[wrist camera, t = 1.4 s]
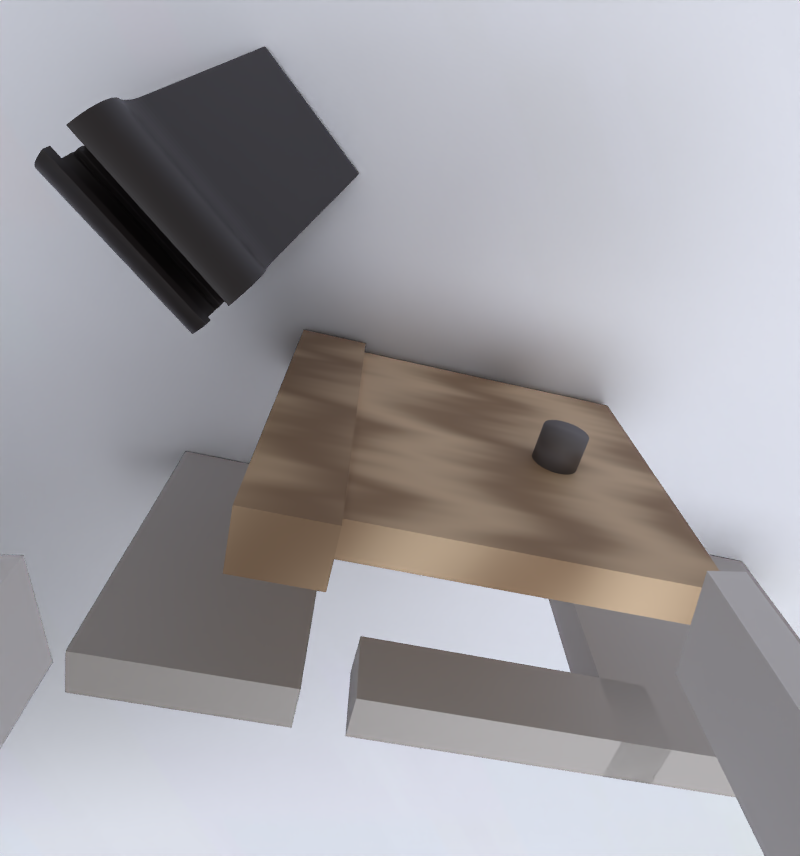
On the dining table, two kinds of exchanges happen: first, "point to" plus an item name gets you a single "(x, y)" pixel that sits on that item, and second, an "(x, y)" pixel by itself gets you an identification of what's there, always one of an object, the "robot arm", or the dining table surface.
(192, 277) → the phone stand
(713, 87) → the dining table surface
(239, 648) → the wall
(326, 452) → the door
